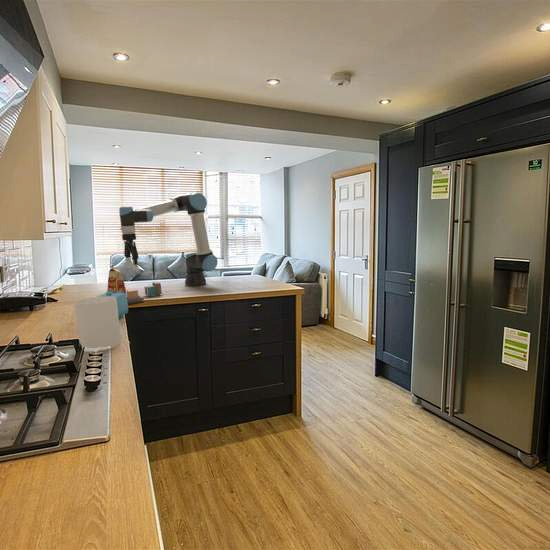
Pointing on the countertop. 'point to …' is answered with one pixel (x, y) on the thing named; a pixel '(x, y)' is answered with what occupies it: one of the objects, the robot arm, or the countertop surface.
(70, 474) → the countertop surface
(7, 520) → the countertop surface
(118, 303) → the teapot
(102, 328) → the container
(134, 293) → the stub
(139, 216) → the robot arm
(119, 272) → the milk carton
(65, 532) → the countertop surface
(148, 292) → the teal brown block
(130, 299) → the tray
